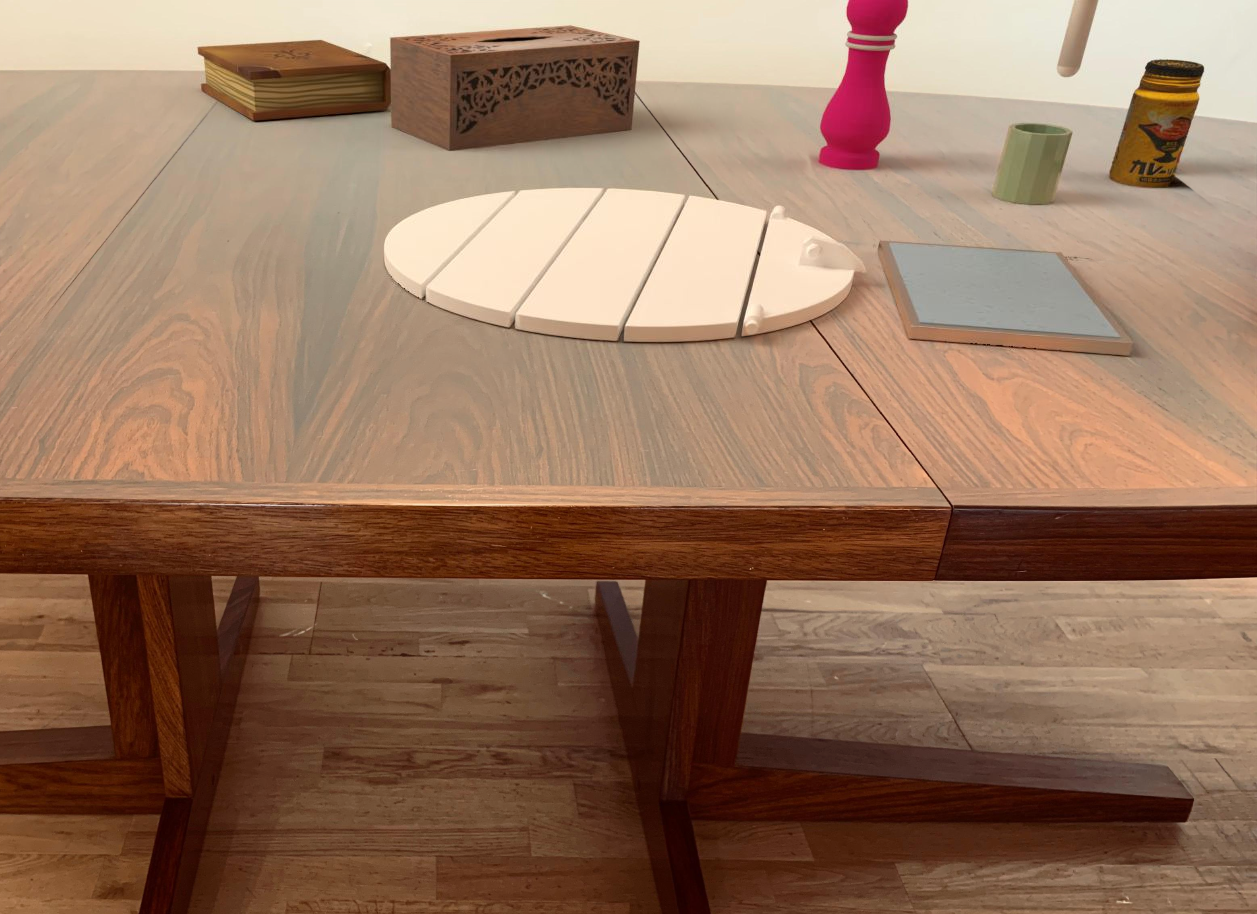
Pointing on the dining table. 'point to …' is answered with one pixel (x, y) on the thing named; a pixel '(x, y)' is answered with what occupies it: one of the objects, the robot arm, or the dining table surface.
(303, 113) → the diary
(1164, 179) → the condiment
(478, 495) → the dining table surface
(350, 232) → the dining table surface
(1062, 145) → the pen pot
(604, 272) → the round wooden slat board
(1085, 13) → the stylus
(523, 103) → the tissue box cover
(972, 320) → the tablet
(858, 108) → the pepper mill
